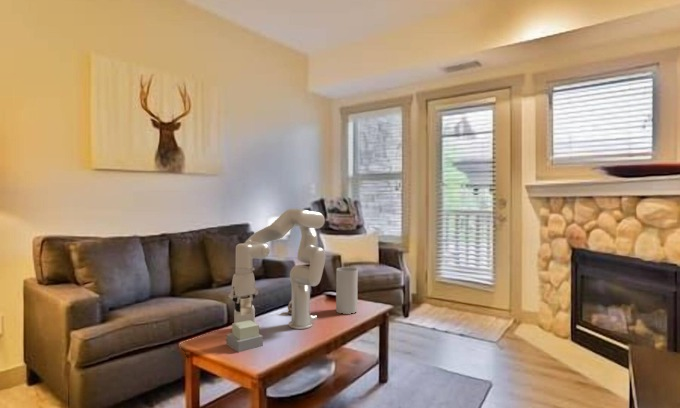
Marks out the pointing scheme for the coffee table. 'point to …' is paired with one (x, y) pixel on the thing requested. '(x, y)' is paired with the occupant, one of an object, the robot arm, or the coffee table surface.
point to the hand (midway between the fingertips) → (243, 309)
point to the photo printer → (244, 316)
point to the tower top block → (245, 329)
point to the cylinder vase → (346, 290)
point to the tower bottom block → (244, 342)
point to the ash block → (245, 305)
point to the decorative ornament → (290, 307)
